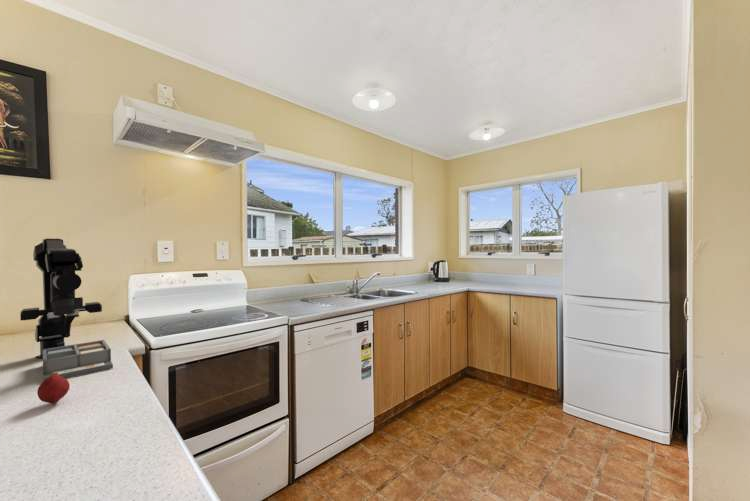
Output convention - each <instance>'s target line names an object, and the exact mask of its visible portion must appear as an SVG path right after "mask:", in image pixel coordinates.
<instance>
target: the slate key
mask: <svg viewBox="0 0 750 501" xmlns="http://www.w3.org/2000/svg"><path fill="white" fill-rule="evenodd" d="M68 350H73V349H72V348H68V349H62V350H56V351H50V352H48V354H50V353H56V352H62V351H68Z"/></svg>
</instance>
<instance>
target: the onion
mask: <svg viewBox="0 0 750 501" xmlns="http://www.w3.org/2000/svg"><path fill="white" fill-rule="evenodd" d="M67 379H68V378H64V377H62V376H58V373H57V372H54V373H52V374H51V375H50V376H49V377H48V378H47V379H45V380H44V379H43V381H42V382H41V383H40V384H39V386H38V389H37V392H36V393H37V396H38V398H39V400H40V401H41V402H43V403H48V404H51V405H55V404H57V403H59V401H60V400H62V399H63V398H64V397H65V396H66V395H67V394H68V392H69V391H70V382H69V381H68V380H67Z"/></svg>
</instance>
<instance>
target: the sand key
mask: <svg viewBox="0 0 750 501" xmlns="http://www.w3.org/2000/svg"><path fill="white" fill-rule="evenodd" d="M100 350H104V348H99V349H93V350H87V351H81V352H80V354H83V353H88V352H94V351H100Z"/></svg>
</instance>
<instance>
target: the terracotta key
mask: <svg viewBox="0 0 750 501" xmlns="http://www.w3.org/2000/svg"><path fill="white" fill-rule="evenodd" d="M98 345H101V344H100V343H99V344H93V345H87V346H80V347H78V349H80V348H86V347H92V346H98Z"/></svg>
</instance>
